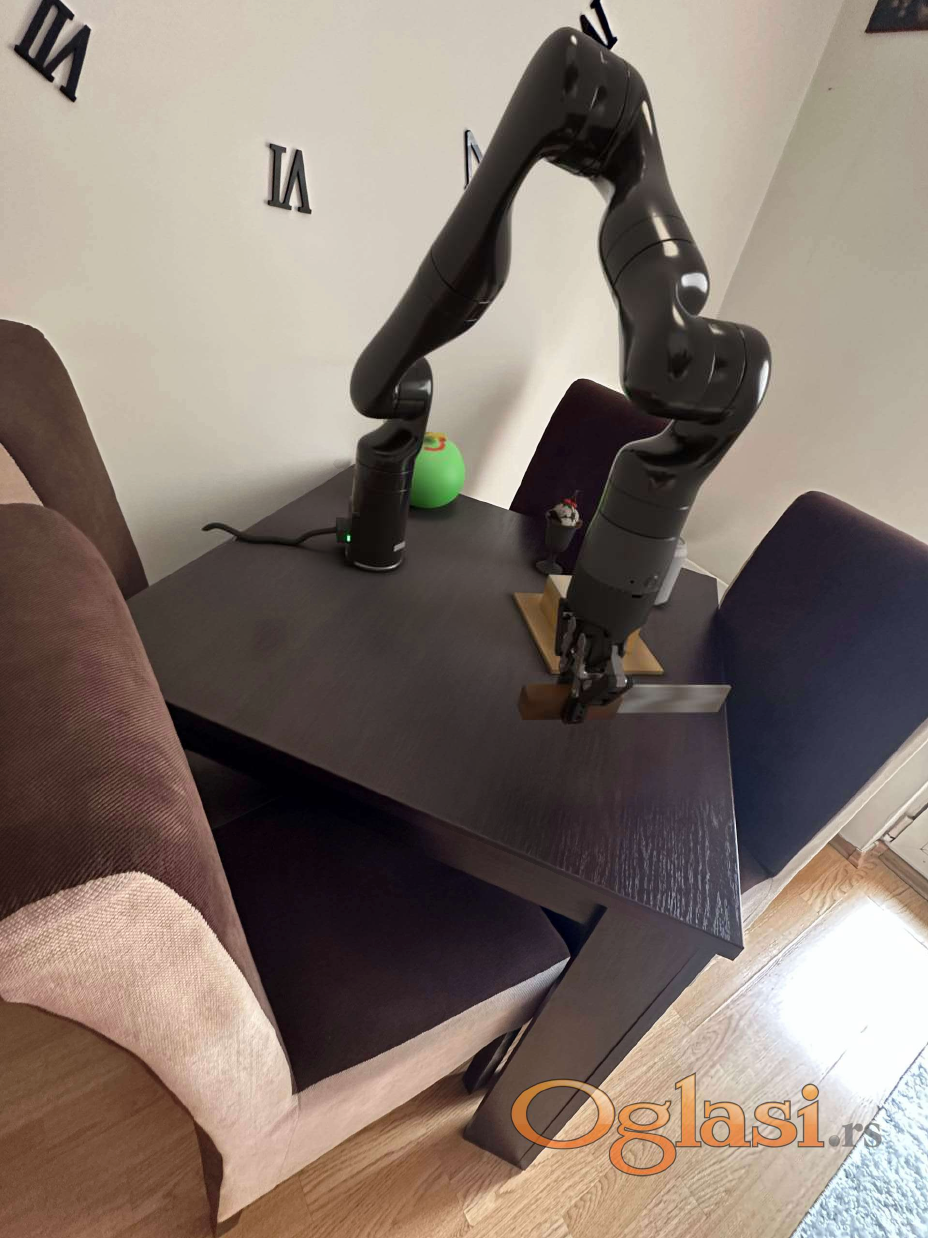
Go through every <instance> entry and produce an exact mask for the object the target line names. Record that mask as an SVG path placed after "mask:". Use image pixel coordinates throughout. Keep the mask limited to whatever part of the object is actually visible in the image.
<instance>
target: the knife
mask: <svg viewBox="0 0 928 1238" xmlns="http://www.w3.org/2000/svg"><path fill="white" fill-rule="evenodd" d="M584 685H591V683H590V684H588V683H587V684H586V683H584ZM571 688H572V684H556V683H523V684H522V687H521V690H520V692H519V693H520V694H519V696H518V700H517V702H516V706H517V709H518V711H519V714H520V716H521V719H522V721H550V720H551V721H557V720H559V721H562V720H561V714H562V711H563V709H564V706H565V703H566V701H567V697H568V694H569V692H570V691H571ZM731 690H732V686H731V685H730V684H634V685H633V687H632V688H631V689H629V690H628V691H627V692H625V693H624V694H622V695H621V696H620V697H618V698H617V699H616V700H614V701H613V702H611V703H610V704H609V705H607V706H590V707H589V709H588V712H587V713H586V716H585V719H584V720H615V718H616V716H617V714H628V713H629V714H645V713H646V714H654V713H655V714H660V713H661V714H662V713H663V714H665V713H666V714H667V713H668V714H669V713H674V714H675V713H718V712H719V710H720V709H721V707H722V705H723V704H724V701H725V700H726V698H727V696H728V694H729V693H730V691H731Z"/></svg>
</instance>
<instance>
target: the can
mask: <svg viewBox="0 0 928 1238" xmlns="http://www.w3.org/2000/svg"><path fill="white" fill-rule="evenodd" d="M687 545H688V542H687V540H686V539H685V538H684V537H683V536H681V535H680V536H679V539H678V543H677V547H676V551H675V554H674V557H673V560H672V563H671V565H670V567H669V570H668V572H667V574H666V577H665V579H664V581H663V584H662V586H661V588H660V591H659V593H658V595H657V598H656V600H655V602H654V605H653V606H659V605H660V604H665V602H667V601H668V600H669V597H670V595H671V592H672V590H673V587H674V586H675V584H676V581H677V578H678V577H679V574H680V571H681V569H682V567H683V564H684V562H685V560H686V557H687V555H688V549H687Z"/></svg>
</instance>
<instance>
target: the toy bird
mask: <svg viewBox="0 0 928 1238" xmlns="http://www.w3.org/2000/svg"><path fill="white" fill-rule="evenodd" d="M386 420H387V419H382V424H383V423H384V422H385V421H386ZM448 436H449V434H448V433H445V432H444V433H443V432H433V431H428V430H426V432H425V437H424V442H423V446H422V449H421V452H420V454H419V455H418V457H417V460H416V466H415V472H414V479H413V485H412V492H411V498H410V505H409V506H412V507H415V508H420V509H435V508H436V509H437V508H440V507H443V506H445V505H447V504H449V503H451V502H452V501H453V500H455V498H457V497H458V495H459V494H460V492H461V491H462V489H463V486H464V483H465V479H466V467H465V466H466V465H465V462H464V458H463V456H462V453H461V451H460V450H459V448H458V446H456V444H455V443H454V442H453V441H452V440H450V439H449V438H447V437H448Z"/></svg>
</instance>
